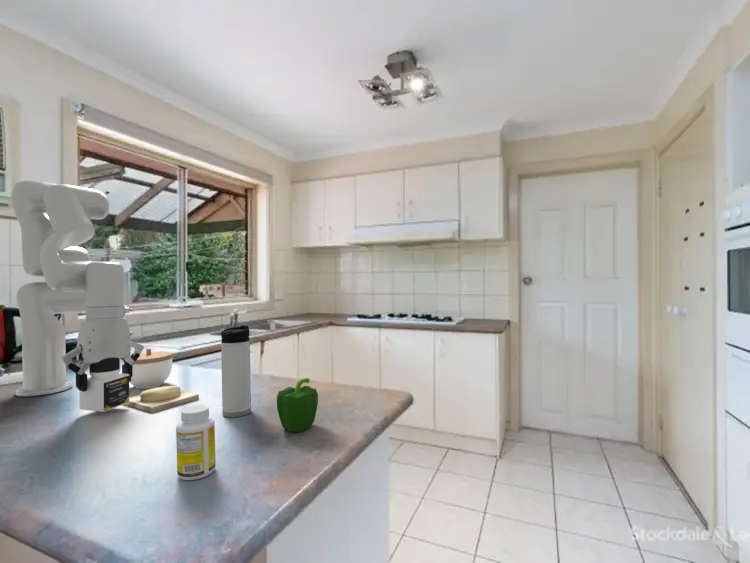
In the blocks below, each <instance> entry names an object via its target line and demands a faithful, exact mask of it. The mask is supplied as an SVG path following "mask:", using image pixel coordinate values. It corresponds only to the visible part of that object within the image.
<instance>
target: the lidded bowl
mask: <svg viewBox="0 0 750 563" xmlns="http://www.w3.org/2000/svg"><path fill="white" fill-rule="evenodd" d="M145 349H146V350H145V351H146V352H141V353H140V357H139V358H138V359H137V360H136V361H135V364H134V365H132V368H133V375H132V377H131V382H129V384H131V385H132V386H133V387H134V388H135V389H137V390H148V389H152V388H157V387H161V386H163V385H164V383H165V382H166V380H168V378H169V377H170V374H171V372H172V368H173V355H174V354H173V352H171V351H152V348H145ZM131 355H132V354H130V356H131ZM162 384H163V385H162ZM160 385H161V386H160Z"/></svg>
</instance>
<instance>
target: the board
mask: <svg viewBox="0 0 750 563" xmlns="http://www.w3.org/2000/svg"><path fill="white" fill-rule="evenodd" d="M199 399H200V398H199V394H197V393H194V392H189V391H185V390H181V386H175V385H173V386H172V385H168V386H165V385H164V386H158V387H154V388H148V389H144V390H143V391H141V392H140V394H137V395H134V396H129V402H128V403H126V404H124V405H126V406H130V407H131V408H134V409H139V410H140V411H141V410H142V411H143V412H149V413H151V414H153V413H156V412H159V411H163V410H167V409H169V408H174V407H176V406H177V407H178V406H179V405H183V403H184V404H187V403H190V401H191V402H194V401H197V400H199Z"/></svg>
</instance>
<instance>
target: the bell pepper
mask: <svg viewBox="0 0 750 563" xmlns="http://www.w3.org/2000/svg"><path fill="white" fill-rule="evenodd" d="M310 381H311V380H310V378H308V377H305V378H301V379H299V381H297V383H296V385H295V388H294V387H292V386H287V387H286V388H285V389H283V390H279V391H278V393H277V395H276V409H277V413H278V417H279V421H280V423H281V427H283V429H286V430H287V431H289V432H291V433H301V432H305V431H306V430H307V429H309V427H311V426H313V424H314V422H315V419H316V415H317V410H318V404H319V393H318V390H317V389H316V388H313V387H311V386H310V385H304V386H302V385H303V384H305V383H306V384H309V382H310Z"/></svg>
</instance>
